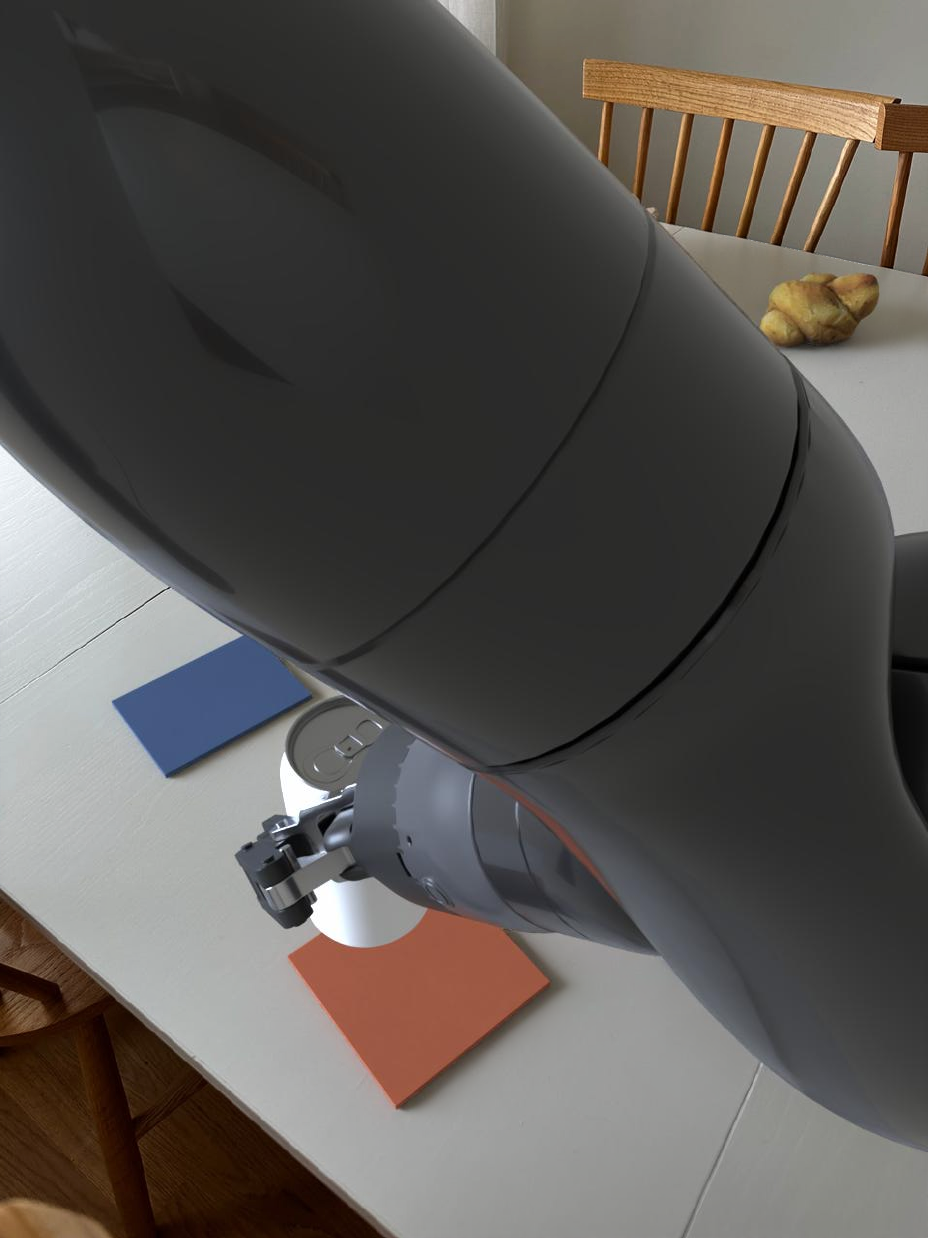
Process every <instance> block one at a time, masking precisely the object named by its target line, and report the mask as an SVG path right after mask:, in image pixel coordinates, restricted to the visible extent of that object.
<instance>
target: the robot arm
mask: <svg viewBox="0 0 928 1238" xmlns="http://www.w3.org/2000/svg"><path fill="white" fill-rule="evenodd" d="M633 194H634V193H632V192H631V191H630V190H629V188H627V187H626V186H625V185H624V184H623V183H622V182H621V181H620V179H618V177H616V176H615V174H614V173H613V172H612V171H610V169H609V168H608V167H607V166H606V165H605V164H604V163H603V162H602V161H601V160H600V159H599V158H598V156H596V155H595V154H594V152H592V151H591V150H590V149H589V147H588V146H587V145H586V144H585V143H583V142H582V141H581V139H580V138H578V136H576V135H575V134H574V133H573V132H572V130H571V129H569V127H568V126H567V125H566V124H565V123H564V122H563V121H561V119H560V118H559V117H558V116H557V115H556V114H555V113H554V112H552V110H551V109H550V108H549V107H548V106H546V104H544V103H543V101H542V100H541V99H539V97H538V96H537V95H536V94H534V92H533V91H532V90H531V89H530V88H528V86H527V85H526V84H525V83H523V81H522V80H521V79H520V78H519V77H517V76H516V75H515V73H513V72H512V71H511V69H509V68H508V67H507V65H505V64H504V63H503V62H502V61H501V60H500V59H499V58H498V57H497V56H496V55H495V54H494V53H493V52H492V51H491V50H490V49H489V48H488V47H487V46H486V45H485V44H484V43H483V42H482V41H481V40H479V38H477V37H476V35H474V34H473V33H472V32H471V31H470V30H469V29H468V28H467V27H466V26H465V25H464V24H463V23H462V22H461V21H460V20H459V19H458V18H457V17H456V16H454V14H452V12H450V11H449V10H448V8H446V7H445V6H444V5H443V4H442V3H441V2H440V1H439V0H0V447H1V448H2V449H3V450H5V451H6V452H7V454H8V455H10V457H12V458H13V459H14V460H15V461H16V462H17V463H18V464H19V466H21V467H22V468H23V469H24V470H25V471H26V472H27V473H28V474H29V475H30V476H31V477H33V478H34V479H35V480H36V481H37V482H38V483H40V485H42V486H43V487H44V488H45V489H46V490H47V491H48V492H49V493H51V495H53V496H54V497H55V498H57V499H58V501H60V502H61V503H62V504H63V505H65V506H66V507H67V508H68V509H69V510H70V511H71V512H73V513H74V514H75V516H77V517H78V518H79V519H81V520H82V521H83V522H84V523H85V524H86V525H87V526H88V527H90V528H91V529H92V530H93V531H95V532H96V533H97V534H99V536H101V537H103V538H104V539H105V540H107V542H109V543H110V544H112V546H114V547H116V548H117V549H118V550H119V551H121V552H122V553H123V554H124V555H126V556H127V557H128V558H130V560H132V561H133V562H135V563H136V564H137V565H139V566H140V567H141V568H142V569H144V571H146V572H147V573H149V574H150V575H151V576H153V577H154V578H156V579H157V580H159V581H160V582H162V583H163V584H165V585H166V586H167V587H169V588H170V589H172V590H173V591H175V592H176V593H178V594H179V595H181V596H182V597H184V598H185V599H187V600H188V601H189V602H191V603H192V604H193V605H195V606H197V607H198V608H199V609H201V610H203V612H206V613H207V614H209V616H211V617H212V618H214V619H216V620H217V621H218V622H221V623H222V624H224V625H225V626H227V627H229V628H230V629H232V630H234V631H235V632H237V633H239V634H240V635H241V636H243V635H244V636H245V637H247V638H248V639H250V640H252V641H253V642H255V643H257V644H258V645H260V646H262V647H263V648H265V649H267V650H268V651H270V652H271V653H273V654H274V655H275V656H276V657H277V658H279V659H282V660H283V661H286V662H288V663H290V664H292V665H294V666H295V667H296V668H297V669H299V670H301V671H303V672H304V673H306V674H307V675H309V676H311V677H313V678H314V679H316V680H318V681H319V682H321V683H322V684H324V685H326V686H328V687H330V688H331V689H333V690H334V691H335V692H338V693H339V694H340V695H344V696H346V697H348V698H349V699H351V700H353V701H354V702H356V703H358V704H359V705H361V706H363V707H364V708H366V709H368V710H369V711H371V712H373V713H374V714H376V715H378V716H379V717H381V718H383V719H384V720H386V721H388V722H389V723H391V724H390V725H389V726H388V727H387V728H386V729H385V730H384V731H383V732H382V733H381V734H380V735H379V736H378V738H377V739H376V740H375V741H374V743H373V744H372V746H371V747H370V749H369V751H368V753H367V754H366V756H365V758H364V761H363V763H362V765H361V768H360V771H359V774H358V778H357V779H356V780H355V781H354V782H352V783H351V784H350V785H348V786H346V787H343V788H340V789H338V790H335V791H332V792H329V793H326V794H323V795H321V796H319V797H317V798H316V799H315V800H313V801H312V802H311V803H309V804H308V805H307V806H305V807H304V808H303V809H301V810H300V812H299V815H298V816H296V817H295V816H287V814H286V815H285V814H273V815H271V816H270V817H269V818H267V819H265V820H263V821H261V826H262V829H263V832H261V833H259V834H258V835H257V836H256V838H255V839H256V841H254V842H253V841H249V842H247V843H245V844H243V845H242V846H240V850H238V851H237V852H236V853H235V854H234V858H235V860H236V862H237V863H238V865H239V867H241V868H242V870H243V872H244V874H245V876H246V878H247V879H248V881H249V883H250V886H251V887H252V888H253V892H254V893H255V894H256V899H257V901H258V903H259V905H260V907H261V909H262V910H264V911H265V913H267V914H268V916H270V917H271V918H272V919H273V920H274V921H275V922H277V923H278V924H279V925H280V927H282V928H283V929H284V930H289V929H292V928H294V927H295V928H298V927H300V926H302V925H303V924H305V923H306V922H307V921H308V919H309V918H311V917H310V916H311V915H312V914H313V913H314V910H313V908H312V907H311V905H313V904H315V903H316V902H317V900H318V898H317V896H316V894H315V892H314V890H315V889H316V888H318V887H320V886H321V885H323V884H325V883H326V882H328V881H329V880H331V879H332V880H333V881H334V882H337V883H342V882H345V881H359V880H363V879H366V878H371V877H374V878H375V879H377V880H378V881H379V882H381V883H382V884H383V885H385V886H386V887H387V888H388V889H390V890H391V891H393V892H394V893H396V894H397V895H399V896H400V897H402V898H404V899H406V900H407V901H409V902H412V903H414V904H416V905H419V906H422V907H426V908H429V909H433V910H437V911H441V912H444V913H448V914H452V915H456V916H459V917H463V918H467V919H470V920H474V921H478V922H482V923H485V924H489V925H493V926H496V927H500V928H502V930H509V931H514V932H519V933H520V932H521V933H525V934H527V933H528V934H560V935H564V936H568V937H571V938H575V939H578V940H582V941H587V942H591V943H594V944H599V945H602V946H606V947H610V948H615V949H619V950H623V951H626V952H631V953H635V954H641V955H646V956H652V957H660V958H662V959H663V960H664V961H665V963H667V965H668V967H669V968H670V969H671V970H672V972H673V973H674V974H675V975H676V976H677V978H678V979H679V980H680V981H681V982H682V983H683V985H684V986H685V987H686V988H687V989H688V991H689V992H690V993H691V994H692V996H693V997H694V998H695V999H696V1000H697V1001H698V1002H699V1003H700V1004H701V1005H702V1006H703V1007H704V1009H706V1011H708V1013H709V1014H711V1016H713V1017H714V1018H715V1019H716V1021H717V1022H718V1023H719V1024H720V1025H721V1026H722V1027H723V1028H724V1029H725V1030H726V1031H727V1032H728V1033H729V1034H731V1036H732V1037H733V1038H734V1039H736V1040H737V1042H739V1043H740V1045H741V1046H743V1047H744V1049H746V1050H747V1051H748V1053H750V1054H751V1055H752V1056H753V1057H754V1058H756V1059H757V1060H758V1061H759V1062H760V1063H761V1064H763V1065H764V1066H765V1067H766V1068H768V1069H769V1070H770V1071H771V1072H773V1073H774V1074H775V1075H777V1076H778V1077H779V1078H780V1079H782V1080H783V1081H784V1082H786V1083H787V1084H788V1085H790V1086H791V1087H793V1088H794V1089H795V1090H796V1091H798V1092H799V1093H801V1094H802V1095H804V1096H805V1097H807V1098H808V1099H810V1100H811V1101H812V1102H814V1103H816V1104H817V1105H819V1106H821V1107H822V1108H824V1109H826V1110H828V1111H829V1112H831V1113H832V1114H834V1115H836V1116H837V1117H840V1118H841V1119H843V1120H845V1121H847V1122H848V1123H849V1122H850V1123H851V1124H853V1125H855V1126H856V1127H859V1128H861V1129H862V1130H865V1131H868V1132H869V1133H872V1134H874V1135H877V1136H879V1137H882V1138H884V1139H886V1140H889V1141H891V1142H894V1143H897V1144H900V1145H902V1146H904V1147H909V1148H910V1149H914V1150H917V1151H922V1152H925V1153H928V530H924V531H916V532H909V533H904V534H903V533H902V534H899V535H895V527H894V522H893V517H892V516H893V515H892V512H891V508H890V504H889V501H888V498H887V495H886V492H885V490H884V486H883V483H882V480H881V478H880V476H879V474H878V472H877V470H876V468H875V466H874V464H873V462H872V461H871V459H870V457H869V456H868V454H867V452H866V451H865V449H864V447H863V445H862V444H861V442H860V441H859V440H858V438H857V437H856V436H855V434H854V433H853V432H852V430H851V429H850V427H849V426H848V425H847V423H846V422H845V420H844V419H843V418H842V417H841V415H840V414H839V413H838V412H837V411H836V409H834V407H833V406H832V405H831V404H830V403H829V402H828V400H827V399H826V397H824V395H822V394H821V392H819V390H818V389H817V388H816V387H815V386H814V385H813V384H812V383H811V382H810V380H809V379H808V378H806V376H804V374H803V373H802V372H801V371H800V370H799V369H798V367H796V366H795V364H794V363H793V362H792V361H791V360H790V359H789V358H788V357H787V356H786V355H785V354H784V353H783V352H782V351H781V350H780V349H779V346H776V345H775V344H774V343H773V342H772V341H771V340H770V339H769V338H768V337H767V335H766V334H765V333H764V332H763V331H762V330H761V329H760V328H759V327H760V326H758V325H757V324H756V323H755V321H754V320H753V319H752V318H751V317H750V316H749V315H748V314H747V313H746V312H745V311H744V310H743V309H742V308H741V307H740V306H739V305H738V304H737V302H735V301H734V299H733V298H732V297H731V296H730V295H729V294H728V293H727V292H726V291H725V290H724V289H723V288H722V287H721V286H720V284H718V283H717V281H716V280H715V279H714V278H713V277H712V276H711V275H710V274H709V273H708V271H706V270H705V268H703V267H702V266H701V265H700V264H699V262H697V261H696V259H694V257H693V256H692V255H691V254H690V253H689V252H688V251H687V250H686V249H685V248H684V247H683V246H682V244H681V243H680V242H679V241H678V240H677V239H676V238H675V237H674V236H673V235H672V234H671V233H670V232H669V230H667V229H666V228H665V227H664V226H663V225H662V223H660V221H659V220H658V218H657V219H656V218H655V217H654V216H653V215H652V214H651V213H650V212H649V211H648V210H647V209H646V207H645V206H644V205H642V204H641V202H640V203H639V202H638V200H637V199H636V197H637V196H636V195H635V194H634V195H635V196H636V197H635V196H634V195H633ZM339 809H342V810H341V811H340V812H339V814H338V815H336V813H335V811H336V810H339ZM305 834H306V835H308V836H309V838H310V839H311V841H312V843H313V845H314V847H315V849H316V851H317V853H316V854H315V853H314V851H313V849H312V848H311V846H310V844H309V842H308V840H307V838H306V836H305Z"/></svg>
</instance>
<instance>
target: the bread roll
mask: <svg viewBox="0 0 928 1238" xmlns="http://www.w3.org/2000/svg"><path fill="white" fill-rule="evenodd" d="M879 298H880V285H879V282H878V278H877V277H876V276H875V275H874V274H870V273H863V272H860V273H859V272H858V273H850V274H845V275H841V276H839V277H838V276H836V275H835V274H832V273H829V272H828V273H827V272H826V273H819V272H817V273H815V272H813V271H812V272H810V273H808V274H807V275H806V276H804V277H803V278H801V279H799V280H798V279H797V280H796V279H789V280H786V281H784V282H782V283H780V284H777V285H776V286H775V287H774V288H773V289H772V290H771V292H770V294H769V296H768V306H767V308H766V309H765V314H764V316H763V317H761V322H760V324H759V326H758V327H759V328H760V329H761V330H762V331H763V332H764V333H765V334H766V335H767V337H768V338H769V339H770V340H771V341H772V342H773V343H774V344H775V345H776V346H777V347H778V348H786V349H789V348H790V349H791V348H796V347H800V346H802V345H805V344H808V345H811V346H831V345H832V346H833V345H834V346H835V345H837V344H839V343H842V342H845V341H847V340H848V339H850V338H851V337H852V336H853V335H854V333H855V331H856V329H857V327H858V326H859V325H860V324H861V321H862V320H864V319H866V318H867V317H869V316H871V314H872V313H873V312H874V310H875V309H876V307H877V305H878V302H879Z"/></svg>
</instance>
